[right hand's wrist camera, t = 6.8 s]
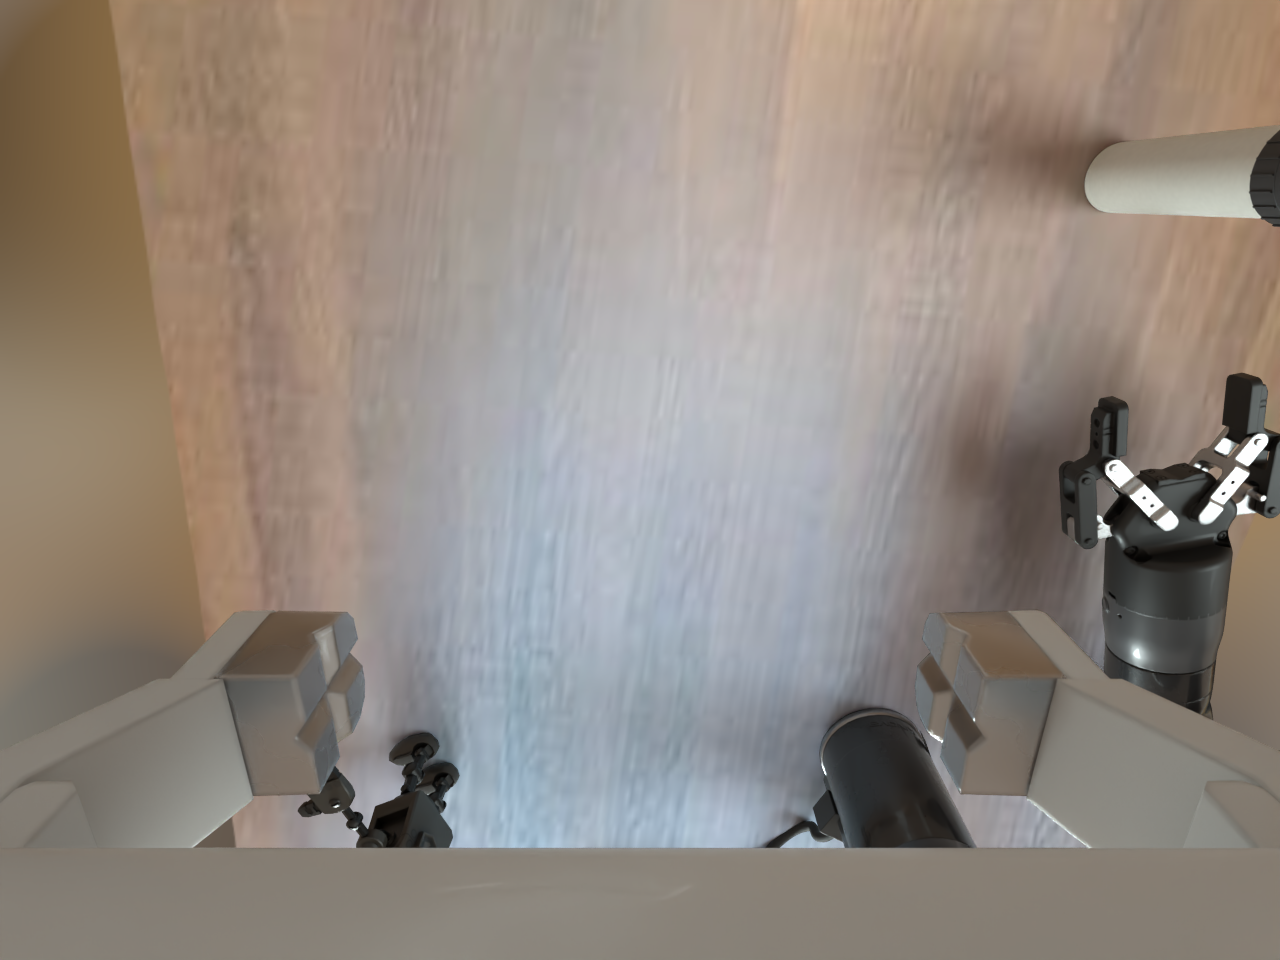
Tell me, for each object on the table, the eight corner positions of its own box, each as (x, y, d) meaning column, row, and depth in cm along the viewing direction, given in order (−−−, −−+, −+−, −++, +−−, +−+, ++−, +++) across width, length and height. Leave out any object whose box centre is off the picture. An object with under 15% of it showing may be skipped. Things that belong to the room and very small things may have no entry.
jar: (1089, 222, 51) (1283, 234, 36) (1079, 157, 49) (1277, 141, 34) (1154, 197, 50) (1381, 198, 35) (1146, 130, 49) (1379, 101, 33)
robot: (324, 671, 64) (168, 906, 43) (395, 642, 63) (271, 869, 42) (462, 861, 73) (389, 1136, 51) (527, 839, 72) (479, 1110, 50)
